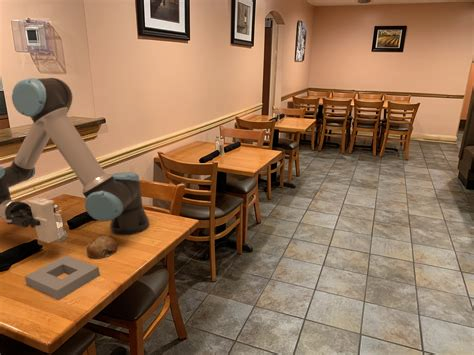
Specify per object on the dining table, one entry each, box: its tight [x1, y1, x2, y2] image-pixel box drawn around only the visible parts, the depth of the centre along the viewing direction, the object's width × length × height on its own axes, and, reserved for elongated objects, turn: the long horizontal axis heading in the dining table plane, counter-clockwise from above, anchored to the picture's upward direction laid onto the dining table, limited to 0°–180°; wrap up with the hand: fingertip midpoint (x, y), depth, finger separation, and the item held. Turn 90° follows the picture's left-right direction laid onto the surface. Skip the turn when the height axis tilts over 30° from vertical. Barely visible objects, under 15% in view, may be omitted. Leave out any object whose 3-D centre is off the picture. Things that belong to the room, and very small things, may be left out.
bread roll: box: [85, 234, 118, 259], centre depth 125 cm, size 10×10×8 cm
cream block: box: [26, 197, 60, 244], centre depth 121 cm, size 4×9×15 cm, turn 60°
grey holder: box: [24, 254, 101, 300], centre depth 109 cm, size 14×16×3 cm
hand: (53, 221), depth 118 cm, fingers closed on cream block, 4 cm apart
